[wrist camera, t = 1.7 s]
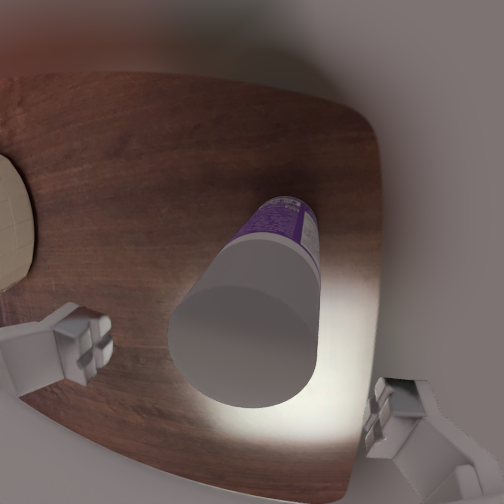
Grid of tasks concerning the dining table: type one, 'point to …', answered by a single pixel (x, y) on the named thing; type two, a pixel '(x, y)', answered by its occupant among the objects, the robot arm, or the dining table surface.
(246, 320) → the container
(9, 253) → the bowl
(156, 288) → the dining table surface
